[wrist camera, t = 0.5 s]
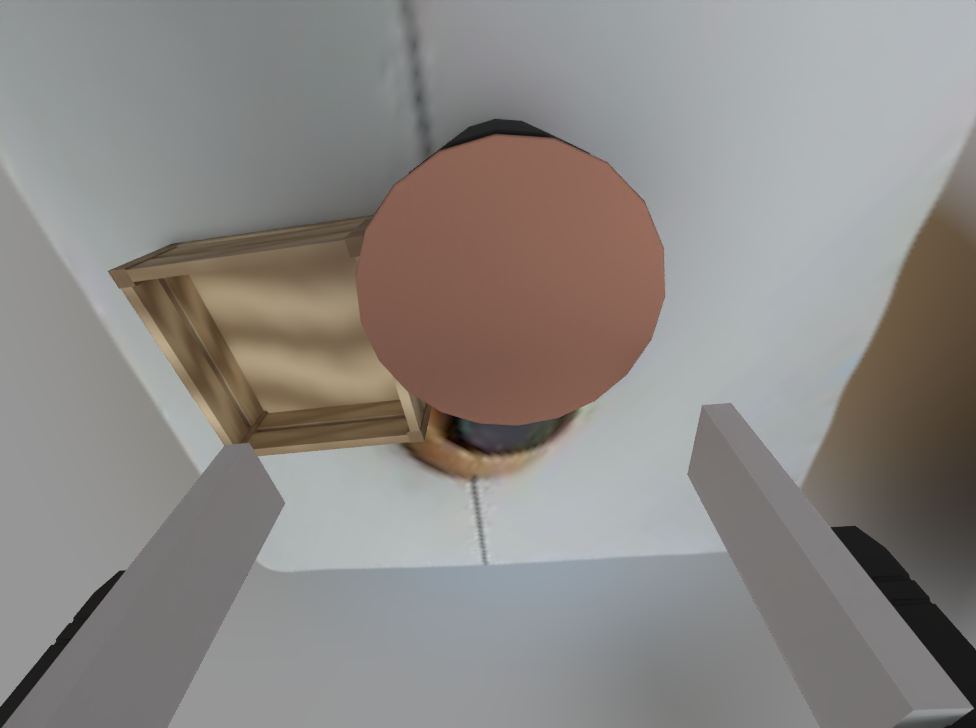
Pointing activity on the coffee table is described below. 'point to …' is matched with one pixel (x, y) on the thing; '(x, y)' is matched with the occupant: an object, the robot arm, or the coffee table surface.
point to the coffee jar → (510, 277)
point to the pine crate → (274, 338)
